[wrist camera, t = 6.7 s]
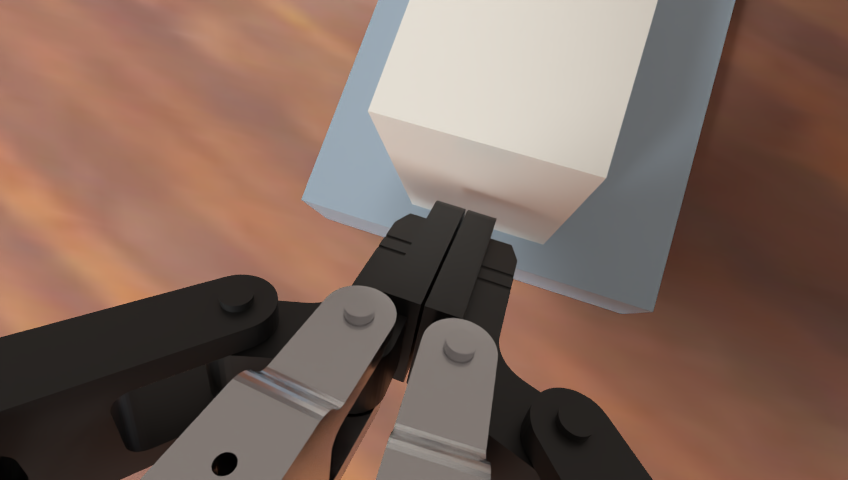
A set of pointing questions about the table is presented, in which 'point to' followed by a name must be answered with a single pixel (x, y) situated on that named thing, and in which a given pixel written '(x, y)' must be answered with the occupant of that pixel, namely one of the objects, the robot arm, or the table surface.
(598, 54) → the white rectangular block
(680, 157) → the plate
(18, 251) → the table surface
